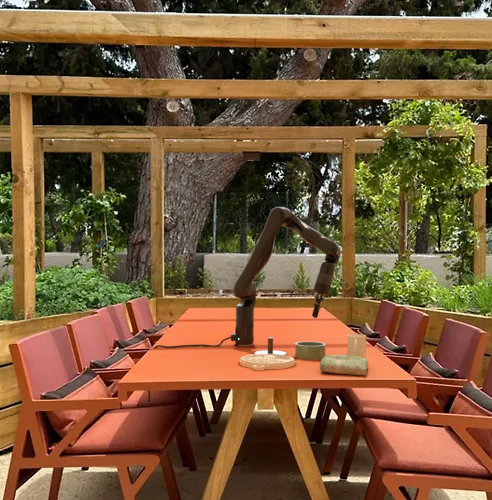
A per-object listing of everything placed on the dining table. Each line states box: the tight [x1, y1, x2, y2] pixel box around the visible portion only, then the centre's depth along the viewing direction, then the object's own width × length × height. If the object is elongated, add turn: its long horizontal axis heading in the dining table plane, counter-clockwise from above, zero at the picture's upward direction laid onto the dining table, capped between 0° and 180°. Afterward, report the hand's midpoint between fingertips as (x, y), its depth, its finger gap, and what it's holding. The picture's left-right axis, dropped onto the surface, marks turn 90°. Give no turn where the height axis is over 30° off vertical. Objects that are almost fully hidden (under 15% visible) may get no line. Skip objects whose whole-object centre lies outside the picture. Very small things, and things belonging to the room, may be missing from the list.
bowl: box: [294, 341, 327, 361], centre depth 273 cm, size 14×14×6 cm
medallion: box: [239, 353, 296, 372], centre depth 256 cm, size 24×27×2 cm
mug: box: [346, 333, 367, 359], centre depth 261 cm, size 12×8×12 cm
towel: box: [319, 354, 368, 376], centre depth 245 cm, size 18×21×5 cm
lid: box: [253, 337, 287, 356], centre depth 279 cm, size 15×15×8 cm
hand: (314, 317), depth 280 cm, fingers open, 8 cm apart
